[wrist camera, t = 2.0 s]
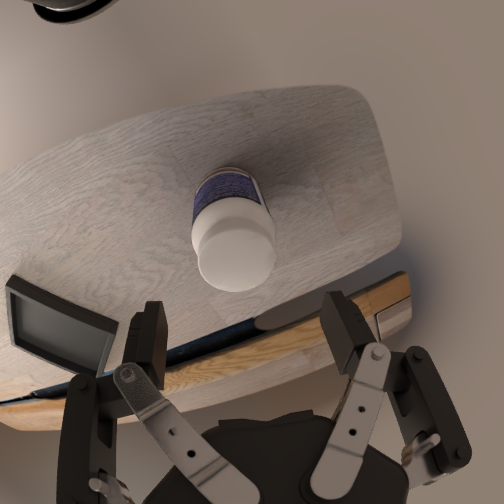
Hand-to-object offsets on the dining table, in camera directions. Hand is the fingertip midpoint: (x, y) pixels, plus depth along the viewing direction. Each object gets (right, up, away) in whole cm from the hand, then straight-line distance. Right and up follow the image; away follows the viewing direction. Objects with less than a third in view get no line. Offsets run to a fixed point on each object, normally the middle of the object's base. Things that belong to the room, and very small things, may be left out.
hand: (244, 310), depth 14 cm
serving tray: (-26, -8, +18) cm, 33 cm away
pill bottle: (-2, +8, +11) cm, 14 cm away
